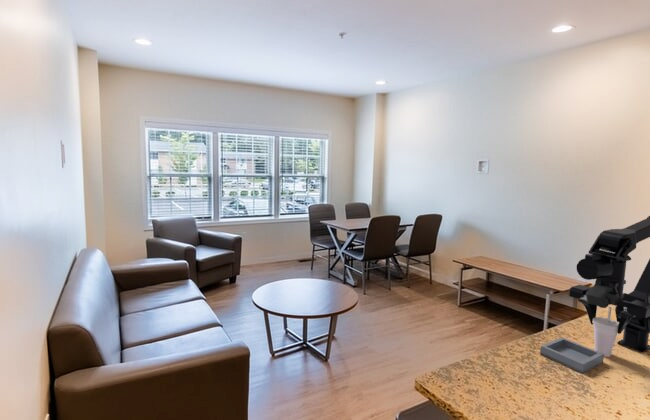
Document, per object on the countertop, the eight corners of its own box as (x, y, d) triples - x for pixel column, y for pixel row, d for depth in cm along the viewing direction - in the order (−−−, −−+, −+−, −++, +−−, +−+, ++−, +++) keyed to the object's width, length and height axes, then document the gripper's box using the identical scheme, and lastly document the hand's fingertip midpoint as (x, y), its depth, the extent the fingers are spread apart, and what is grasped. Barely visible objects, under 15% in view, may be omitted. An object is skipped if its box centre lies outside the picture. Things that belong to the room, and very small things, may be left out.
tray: (561, 345, 110) (562, 337, 110) (603, 362, 100) (604, 353, 100) (540, 354, 105) (540, 345, 104) (582, 373, 95) (583, 364, 95)
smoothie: (621, 360, 101) (627, 312, 100) (595, 357, 103) (601, 310, 101) (609, 349, 108) (614, 303, 106) (584, 346, 109) (589, 301, 107)
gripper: (560, 271, 106) (555, 322, 108) (639, 290, 90) (632, 350, 92) (580, 266, 112) (575, 314, 114) (658, 284, 96) (651, 340, 98)
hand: (605, 328), depth 104 cm, fingers closed on smoothie, 6 cm apart
